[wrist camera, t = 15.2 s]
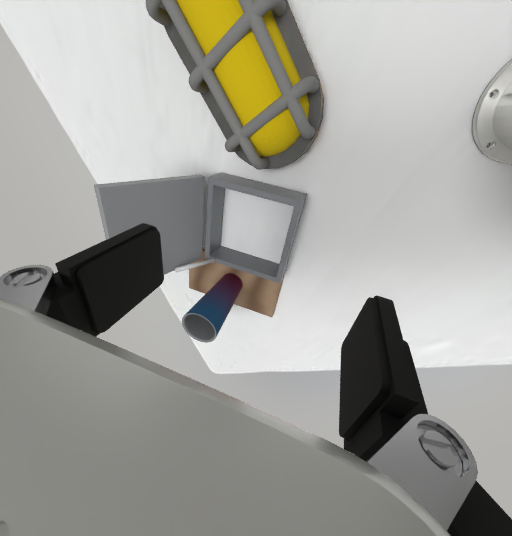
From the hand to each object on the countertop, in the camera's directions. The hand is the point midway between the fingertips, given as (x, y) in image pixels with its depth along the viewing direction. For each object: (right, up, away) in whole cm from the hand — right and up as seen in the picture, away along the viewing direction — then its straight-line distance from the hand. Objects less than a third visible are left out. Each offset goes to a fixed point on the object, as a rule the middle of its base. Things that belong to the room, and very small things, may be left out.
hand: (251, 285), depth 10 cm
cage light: (-1, +31, +23) cm, 38 cm away
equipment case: (-1, +10, +35) cm, 37 cm away
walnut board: (-5, -2, +44) cm, 44 cm away
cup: (-5, -2, +43) cm, 44 cm away
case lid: (-14, +6, +27) cm, 31 cm away
